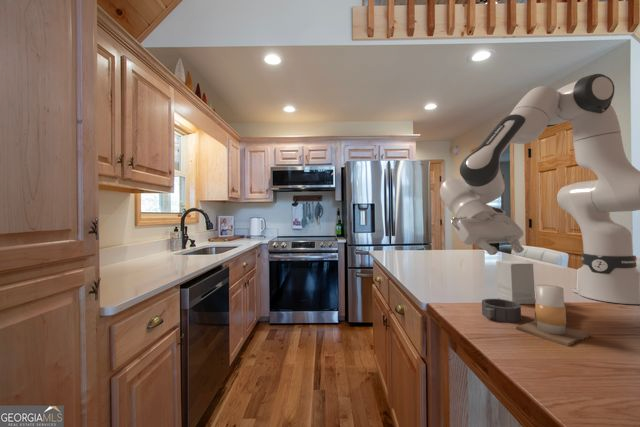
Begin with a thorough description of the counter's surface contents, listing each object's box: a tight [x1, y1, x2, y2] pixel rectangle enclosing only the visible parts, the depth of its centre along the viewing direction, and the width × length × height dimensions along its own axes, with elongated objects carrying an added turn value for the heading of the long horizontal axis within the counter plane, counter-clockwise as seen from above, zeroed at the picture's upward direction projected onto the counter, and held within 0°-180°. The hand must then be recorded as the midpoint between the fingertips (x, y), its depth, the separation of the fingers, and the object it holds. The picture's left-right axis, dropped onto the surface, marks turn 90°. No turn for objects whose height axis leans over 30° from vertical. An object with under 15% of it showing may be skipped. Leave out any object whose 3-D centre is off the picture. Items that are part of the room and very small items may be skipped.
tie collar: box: [481, 298, 522, 323], centre depth 74 cm, size 10×9×4 cm
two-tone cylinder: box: [534, 284, 567, 335], centre depth 63 cm, size 5×5×10 cm
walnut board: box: [515, 319, 591, 347], centre depth 63 cm, size 10×10×1 cm
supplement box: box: [495, 259, 536, 305], centre depth 88 cm, size 7×7×13 cm
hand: (507, 252), depth 73 cm, fingers open, 8 cm apart
